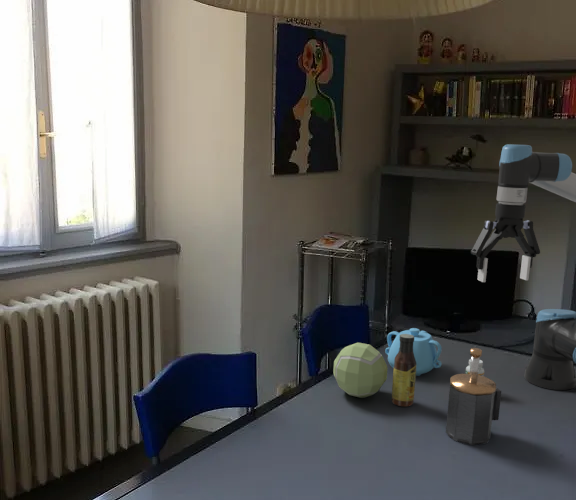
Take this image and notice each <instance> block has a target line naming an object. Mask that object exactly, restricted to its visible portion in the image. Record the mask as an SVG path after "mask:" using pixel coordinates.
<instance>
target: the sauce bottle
mask: <svg viewBox="0 0 576 500" xmlns="http://www.w3.org/2000/svg"><path fill="white" fill-rule="evenodd" d="M413 342H414V336H413V335H410V334H401V335H400V348H399V350H400V351H399V352H398V354H397V355H396V357H395V360H394V361H395V362H394V368H393V372H392V387H391V390H392V391H391V401H392V403H393V405H395V406H398V407H404V408H406V407H410V406H412V405H413V404H414V399H415V391H416V389H415V388H416V387H415V386H416V377H417V376H416V360H415V357H414V353H413Z"/></svg>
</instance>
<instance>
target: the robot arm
mask: <svg viewBox="0 0 576 500" xmlns="http://www.w3.org/2000/svg"><path fill="white" fill-rule="evenodd" d="M500 154H501V155H500V159H499V163H498V164H499V171H498V173H499V174H498V184H497V193H496V201H497V203H496V204H495V211H494V213H495V214H494V215H495V219H494V221H490V220H487V219H486V220H484V223H483V228H482V230H481V232H480V234H479V235H478V237H477V239H476V241H475V243H474V245H473V247H472V248H471V250H470V254H471V255H473V256H476V265H475V266H476V269H477V271H478V272H477V280H478V281H479V282H481V283H486V281H487V280H486V279H487V273H488V271H487V269H488V262H489V261H488V260H489V258H487V256H488V254H489V253H490V252H491V251H492V250H493V248H494V247H495V246H496V245H497V243H498V242H499V241H500V240H502V239H508V238H512V239H513V238H514V239H515V240H516V242H517V243H518V245H519V246H520V248H521V250H522V251H523V253H524V254H525V255H524V254H523V255H522V256H521V264H520V265H521V267H520V272H519V279H521V280H524V281H529V277H530V269H532V267H533V259H534V258H536V257H537V255H540V254H541V250H540V249H541V248H540V247H539V244H538V243H539V242H538V240H537V237H536V234H535V231H534V221H531V220H528V219H524V218H525V216H526V208H527V206H526V204H525V203H526V202H527V196H528V188H529V184H532V185H534V186H536V187H539V188H541V189H544V190H546V191H548V192H550V193H553V194H555V195H558V196H560V197H562V198H564V199H567V200H569V201H572V202H574V203H576V173H574V172H572V169H573V162H572V159H571V157H570V156H569V155H568V154H566V153H559V152H538V151H533V147H532V146H531V145H528V144H513V143H512V144H511V143H509V144H508V143H507V144H505V145H504V146H502V150H501V153H500ZM522 229H523V231H524V233H523V232H522ZM524 234H525V235H524ZM532 350H533V351H532V355H531V357H530V358H529V362H528V365H527V366H526V367H525V369H524V376H523V377H524V379H525V380H526V381H527V382H529V383H530V384H532V385H534V386H536V387H540V388H544V389H548V390H555V391H556V390H557V391H567V390H568V391H569V390H572V389H574V388H575V387H576V371H575V365H574V364H576V311H574V310H570V309H563V308H545V309H541V310H540V311H538V312H537V317H536V320H535V331H534V340H533V348H532Z"/></svg>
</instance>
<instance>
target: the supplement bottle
mask: <svg viewBox="0 0 576 500" xmlns="http://www.w3.org/2000/svg"><path fill="white" fill-rule="evenodd" d="M470 366H471V358H469V359H468V365H467V366H466V367H465V374H470ZM483 366H484V362H483V360H481V359H480V360H479V370H478V375H480V376H483V377H485V368H484V367H483Z"/></svg>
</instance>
